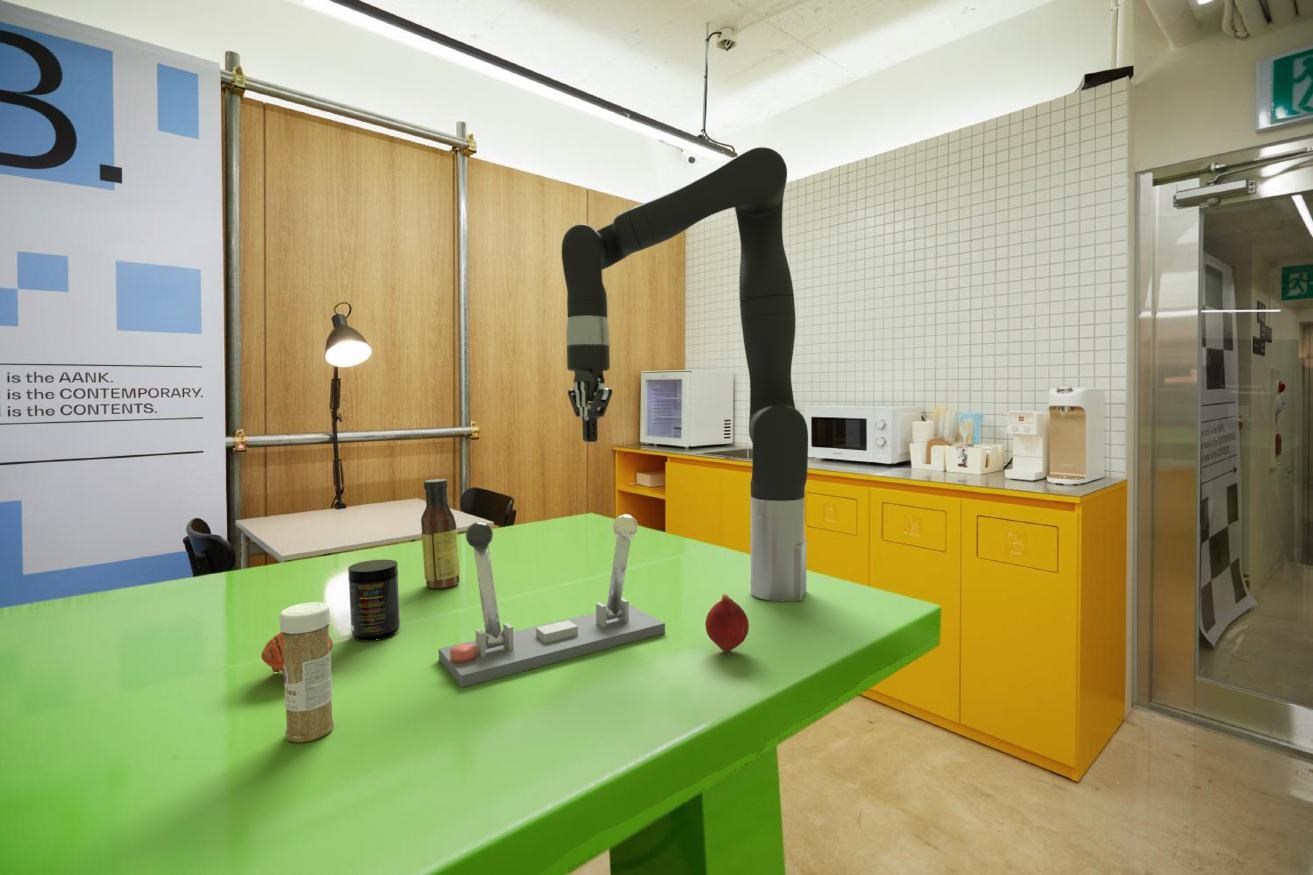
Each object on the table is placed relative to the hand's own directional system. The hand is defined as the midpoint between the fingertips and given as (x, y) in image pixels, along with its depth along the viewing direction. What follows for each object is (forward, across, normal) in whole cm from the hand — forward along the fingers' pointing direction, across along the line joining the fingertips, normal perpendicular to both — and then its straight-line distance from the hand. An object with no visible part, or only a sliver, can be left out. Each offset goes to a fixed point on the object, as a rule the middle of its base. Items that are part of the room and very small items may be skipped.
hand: (590, 441), depth 113 cm
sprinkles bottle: (+27, -26, +48) cm, 61 cm away
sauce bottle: (+27, +19, +22) cm, 40 cm away
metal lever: (+24, -20, +8) cm, 32 cm away
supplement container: (+27, 0, +37) cm, 46 cm away
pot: (+27, -9, +48) cm, 55 cm away
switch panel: (+27, -20, +16) cm, 37 cm away
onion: (+27, -35, -2) cm, 45 cm away
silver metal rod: (+24, -20, +26) cm, 40 cm away
